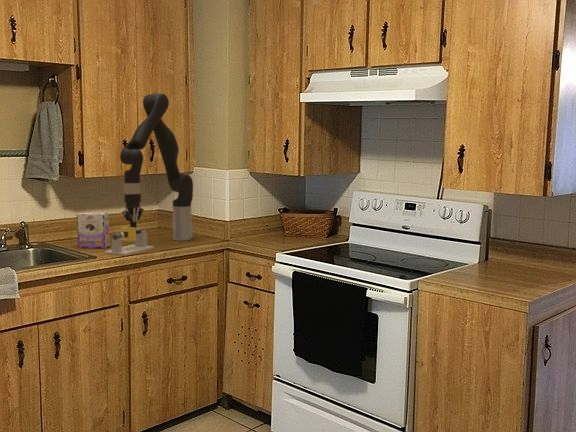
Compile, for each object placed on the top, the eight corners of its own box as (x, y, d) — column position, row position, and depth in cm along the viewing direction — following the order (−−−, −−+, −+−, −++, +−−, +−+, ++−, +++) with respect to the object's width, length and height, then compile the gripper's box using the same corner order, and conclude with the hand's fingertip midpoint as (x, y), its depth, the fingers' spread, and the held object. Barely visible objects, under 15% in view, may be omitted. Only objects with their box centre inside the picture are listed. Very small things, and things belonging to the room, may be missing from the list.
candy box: (110, 246, 330) (109, 212, 328) (104, 248, 324) (103, 214, 322) (83, 245, 333) (82, 211, 331) (77, 247, 327) (76, 213, 325)
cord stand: (133, 246, 332) (133, 226, 330) (153, 248, 326) (153, 228, 325) (105, 253, 314) (104, 232, 313) (125, 255, 308) (125, 234, 307)
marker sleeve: (127, 239, 322) (126, 226, 321) (135, 240, 319) (135, 227, 318) (121, 240, 318) (121, 227, 317) (130, 241, 316) (129, 228, 315)
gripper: (135, 191, 327) (136, 227, 329) (116, 193, 315) (117, 231, 317) (148, 191, 323) (148, 228, 325) (129, 194, 312) (130, 232, 314)
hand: (133, 229), depth 321 cm, fingers closed
